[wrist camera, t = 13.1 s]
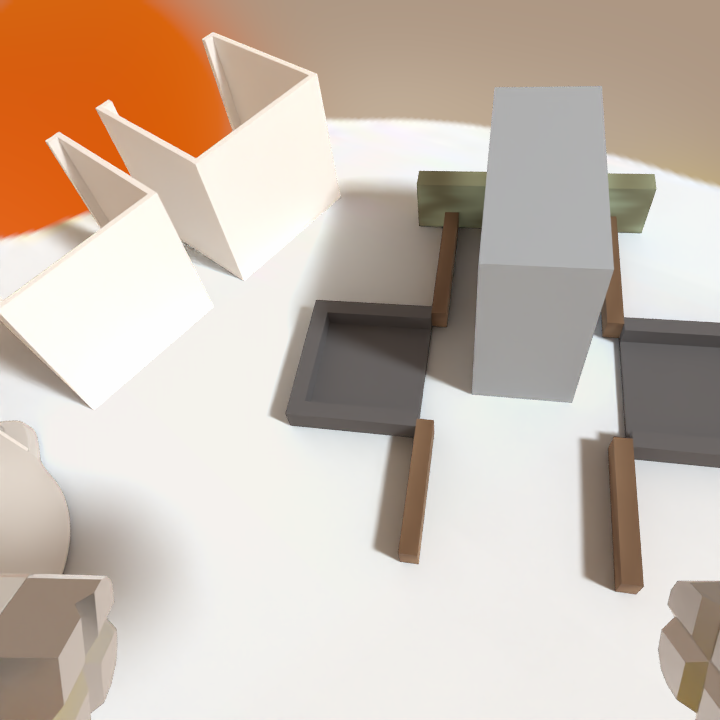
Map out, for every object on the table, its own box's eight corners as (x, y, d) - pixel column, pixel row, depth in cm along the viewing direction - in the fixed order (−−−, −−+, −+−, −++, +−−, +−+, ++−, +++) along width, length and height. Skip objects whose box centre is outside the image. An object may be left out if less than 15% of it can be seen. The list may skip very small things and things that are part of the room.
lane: (364, 556, 34) (354, 532, 31) (421, 212, 49) (419, 170, 45) (678, 600, 31) (705, 578, 28) (639, 218, 45) (654, 174, 42)
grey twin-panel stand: (95, 411, 42) (-3, 310, 33) (14, 334, 47) (-90, 228, 38) (341, 199, 51) (317, 73, 42) (251, 153, 56) (212, 32, 47)
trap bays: (290, 425, 39) (285, 413, 38) (319, 313, 44) (316, 299, 43) (783, 473, 34) (796, 462, 32) (755, 339, 39) (765, 325, 37)
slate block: (471, 394, 39) (478, 263, 29) (485, 234, 46) (494, 87, 37) (571, 403, 38) (613, 269, 28) (569, 237, 45) (601, 86, 35)
